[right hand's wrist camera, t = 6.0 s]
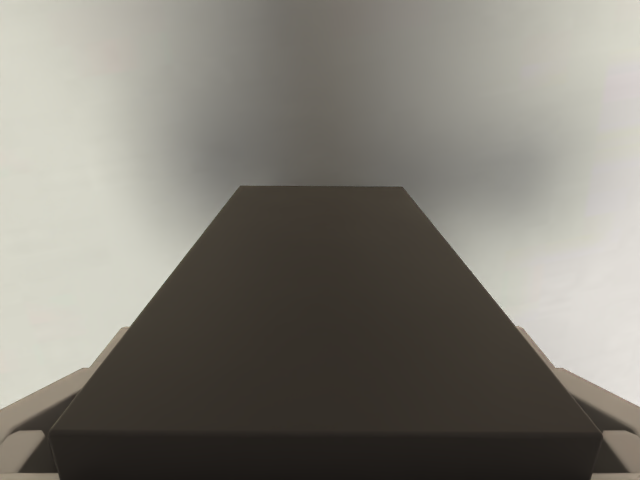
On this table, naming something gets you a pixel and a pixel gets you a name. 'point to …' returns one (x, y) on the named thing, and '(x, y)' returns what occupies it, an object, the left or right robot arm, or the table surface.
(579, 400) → the right robot arm
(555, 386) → the box
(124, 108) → the table surface
